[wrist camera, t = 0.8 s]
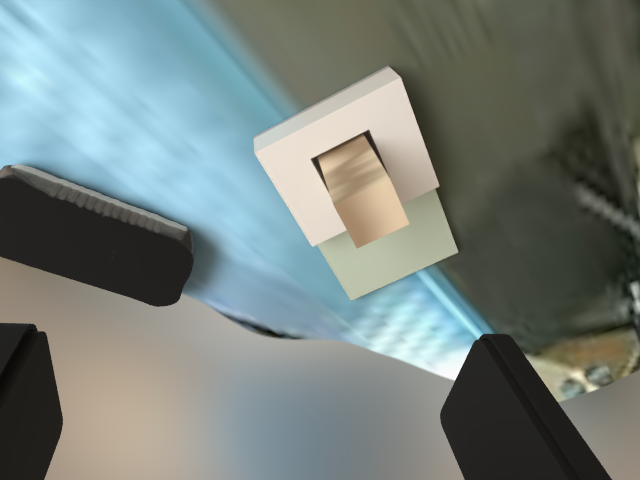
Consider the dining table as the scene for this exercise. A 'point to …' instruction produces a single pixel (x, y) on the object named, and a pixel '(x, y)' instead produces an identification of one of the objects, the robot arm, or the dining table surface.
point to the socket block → (335, 128)
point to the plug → (361, 191)
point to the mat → (392, 249)
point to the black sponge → (92, 237)
